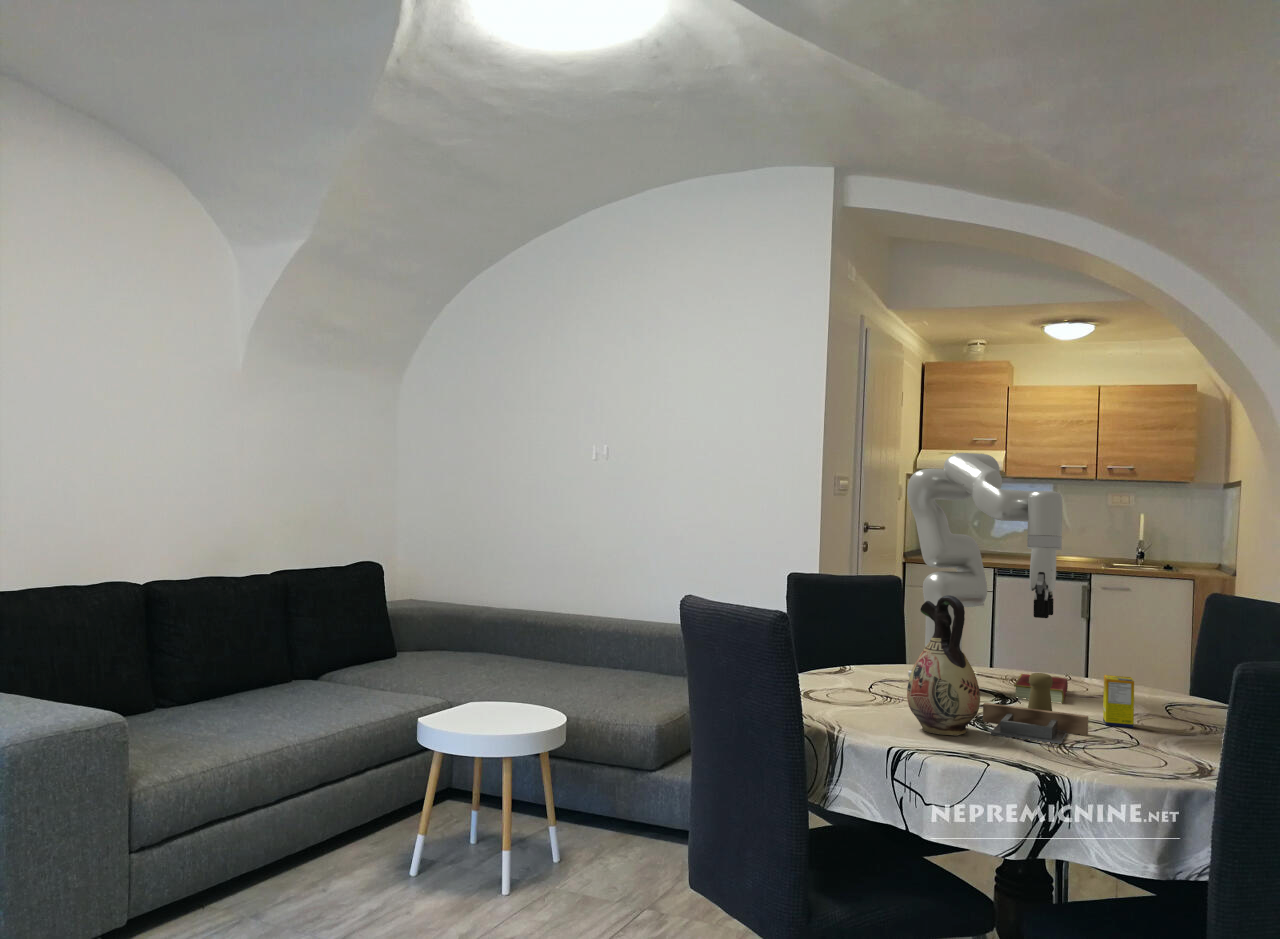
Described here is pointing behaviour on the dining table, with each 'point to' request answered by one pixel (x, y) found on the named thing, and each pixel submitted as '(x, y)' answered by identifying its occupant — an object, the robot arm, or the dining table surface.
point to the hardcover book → (1056, 690)
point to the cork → (1040, 691)
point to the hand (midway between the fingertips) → (1043, 616)
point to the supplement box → (1118, 701)
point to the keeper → (1029, 730)
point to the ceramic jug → (944, 675)
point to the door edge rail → (1036, 717)
